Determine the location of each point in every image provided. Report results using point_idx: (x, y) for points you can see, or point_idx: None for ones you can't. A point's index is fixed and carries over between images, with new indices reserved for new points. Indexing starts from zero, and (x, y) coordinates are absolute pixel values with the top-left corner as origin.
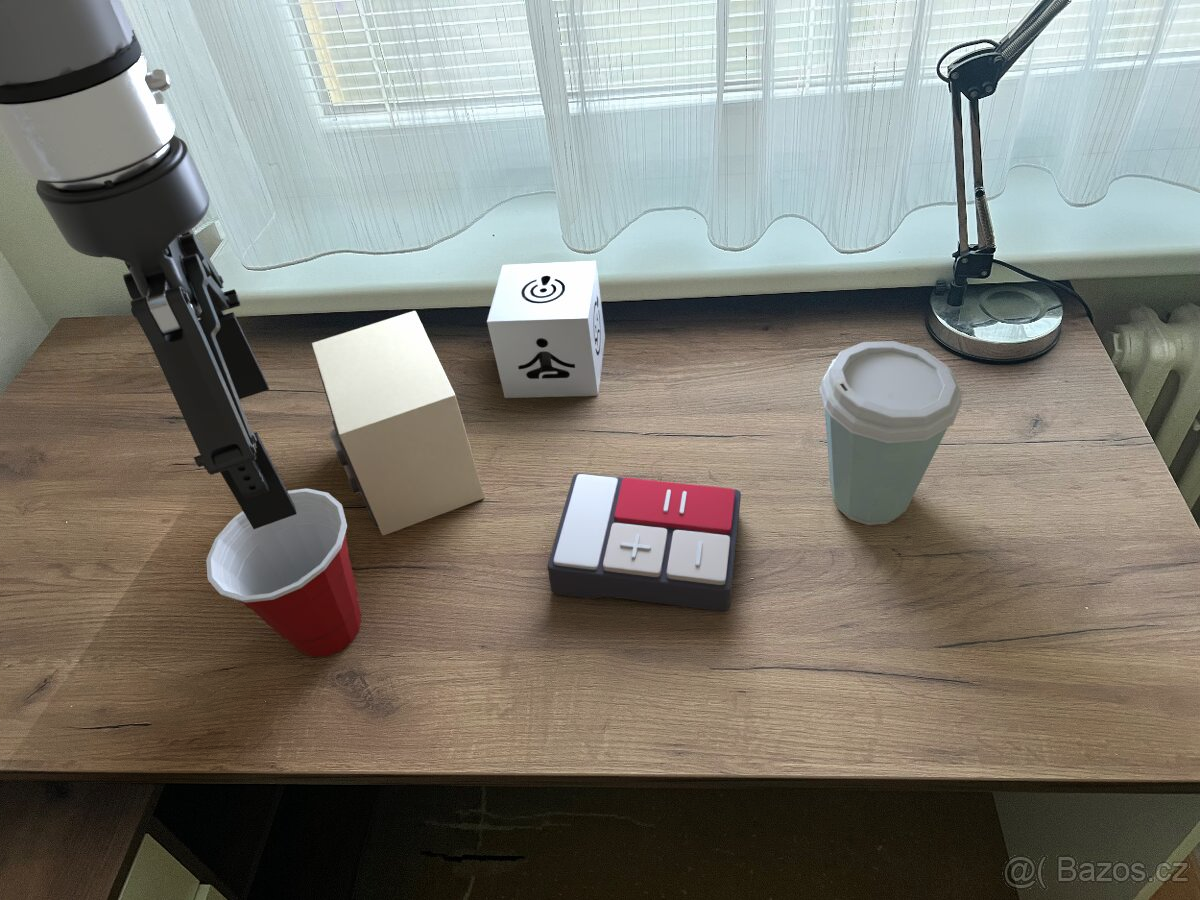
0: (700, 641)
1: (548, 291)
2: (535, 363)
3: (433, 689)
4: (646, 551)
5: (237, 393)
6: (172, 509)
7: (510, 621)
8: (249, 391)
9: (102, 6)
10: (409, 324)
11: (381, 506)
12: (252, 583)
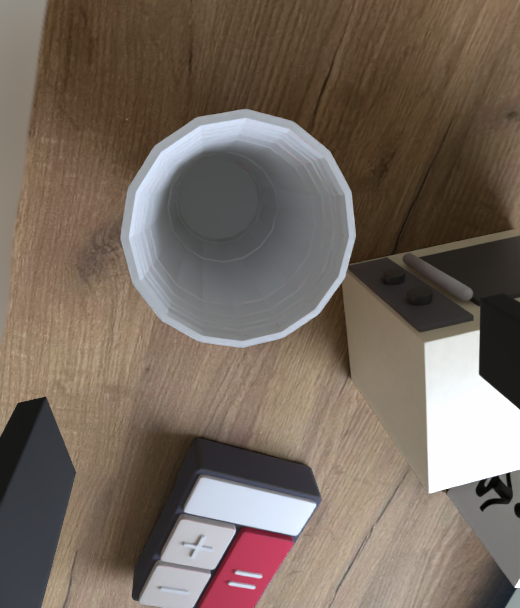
0: (107, 546)
1: None
2: (505, 477)
3: (103, 318)
4: (189, 553)
5: (489, 324)
6: None
7: (173, 396)
8: (486, 345)
9: None
10: None
11: (358, 294)
12: (243, 146)
